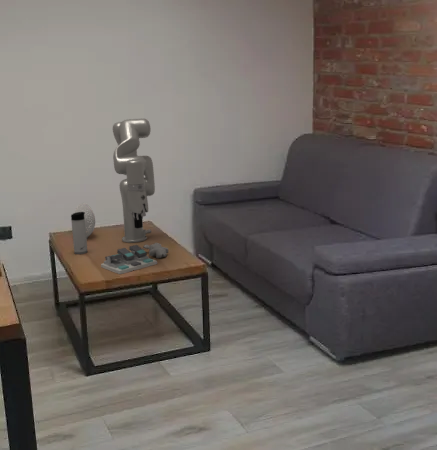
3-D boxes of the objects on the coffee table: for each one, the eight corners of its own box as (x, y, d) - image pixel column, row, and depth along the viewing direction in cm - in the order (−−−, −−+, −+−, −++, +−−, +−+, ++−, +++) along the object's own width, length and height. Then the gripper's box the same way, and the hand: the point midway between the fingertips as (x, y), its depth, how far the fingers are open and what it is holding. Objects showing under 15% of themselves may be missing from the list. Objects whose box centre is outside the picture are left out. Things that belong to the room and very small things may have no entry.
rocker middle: (124, 250, 315) (124, 247, 315) (134, 258, 310) (134, 255, 309) (117, 252, 313) (117, 249, 312) (127, 260, 308) (127, 257, 307)
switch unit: (138, 257, 323) (137, 246, 321) (157, 263, 312) (156, 252, 310) (101, 267, 310) (100, 255, 309) (119, 274, 299) (118, 262, 298)
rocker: (113, 258, 311) (112, 254, 311) (122, 257, 305) (121, 253, 305) (105, 260, 309) (104, 256, 309) (114, 259, 303) (114, 255, 303)
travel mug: (85, 254, 330) (81, 213, 326) (72, 254, 332) (68, 213, 327) (90, 250, 336) (86, 210, 332) (77, 250, 338) (73, 210, 333)
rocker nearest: (136, 247, 319) (136, 244, 319) (146, 255, 314) (146, 252, 314) (129, 249, 317) (129, 246, 316) (139, 257, 312) (139, 254, 311)
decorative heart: (74, 233, 370) (71, 202, 365) (94, 231, 372) (92, 200, 368) (77, 242, 353) (74, 209, 349) (98, 240, 355) (95, 207, 351)
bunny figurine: (153, 252, 316) (141, 241, 329) (153, 262, 318) (141, 251, 331) (172, 249, 320) (159, 238, 333) (172, 259, 322) (159, 248, 335)
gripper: (153, 188, 303) (155, 228, 307) (133, 184, 314) (135, 223, 318) (139, 190, 298) (141, 232, 302) (119, 186, 309) (122, 226, 313)
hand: (138, 227), depth 310 cm, fingers closed
